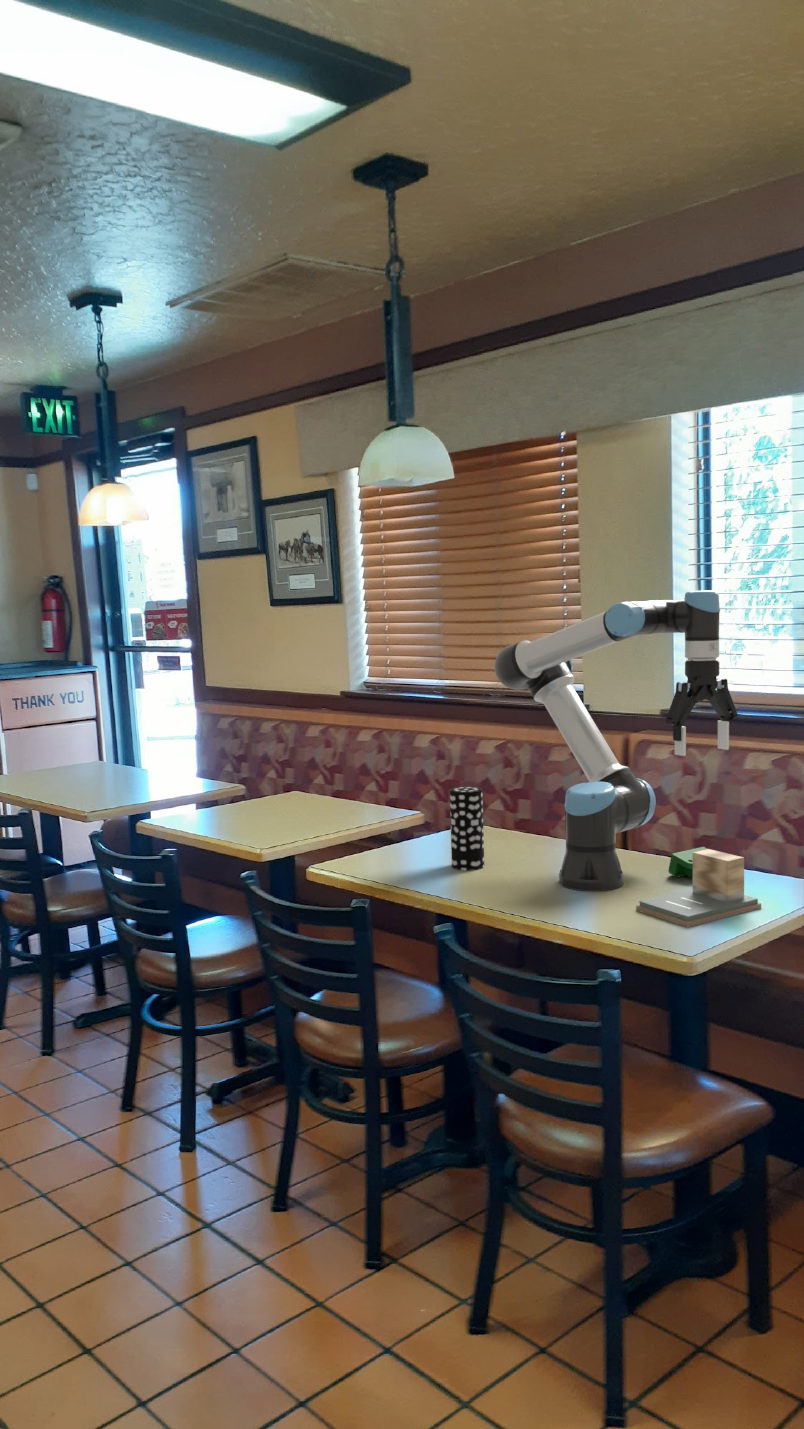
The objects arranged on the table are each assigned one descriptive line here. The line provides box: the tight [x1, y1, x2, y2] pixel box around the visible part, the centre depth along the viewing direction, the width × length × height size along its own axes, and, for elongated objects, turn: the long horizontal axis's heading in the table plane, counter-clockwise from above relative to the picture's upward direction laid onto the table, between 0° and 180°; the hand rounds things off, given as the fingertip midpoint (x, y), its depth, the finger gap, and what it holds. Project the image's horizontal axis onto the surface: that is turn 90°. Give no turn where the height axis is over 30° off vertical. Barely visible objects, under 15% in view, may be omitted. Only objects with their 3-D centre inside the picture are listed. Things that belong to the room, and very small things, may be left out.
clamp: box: [667, 846, 708, 879], centre depth 258 cm, size 12×6×9 cm, turn 117°
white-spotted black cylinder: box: [449, 786, 485, 872], centre depth 273 cm, size 8×8×20 cm
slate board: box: [635, 888, 762, 928], centre depth 231 cm, size 15×22×2 cm
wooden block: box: [692, 848, 745, 902], centre depth 234 cm, size 10×5×9 cm, turn 31°
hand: (702, 752), depth 245 cm, fingers open, 13 cm apart
